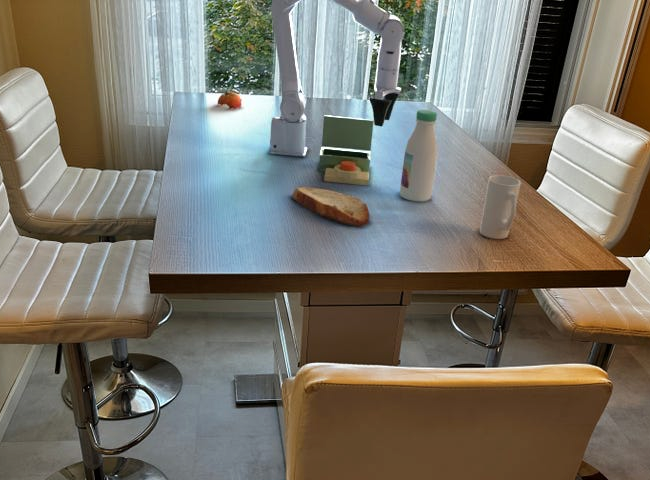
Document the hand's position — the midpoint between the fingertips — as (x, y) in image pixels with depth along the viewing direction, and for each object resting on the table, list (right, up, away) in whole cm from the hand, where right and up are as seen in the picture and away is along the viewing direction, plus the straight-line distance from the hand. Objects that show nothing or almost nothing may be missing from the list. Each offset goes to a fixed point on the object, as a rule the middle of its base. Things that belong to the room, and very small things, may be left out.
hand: (381, 122), depth 188 cm
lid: (-9, -5, -5) cm, 12 cm away
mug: (+24, -37, -35) cm, 56 cm away
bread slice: (-13, -30, -30) cm, 45 cm away
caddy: (-10, -13, -4) cm, 17 cm away
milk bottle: (+7, -24, -17) cm, 31 cm away
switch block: (-9, -18, -11) cm, 23 cm away
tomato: (-48, +19, +42) cm, 66 cm away
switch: (-9, -16, -13) cm, 23 cm away
